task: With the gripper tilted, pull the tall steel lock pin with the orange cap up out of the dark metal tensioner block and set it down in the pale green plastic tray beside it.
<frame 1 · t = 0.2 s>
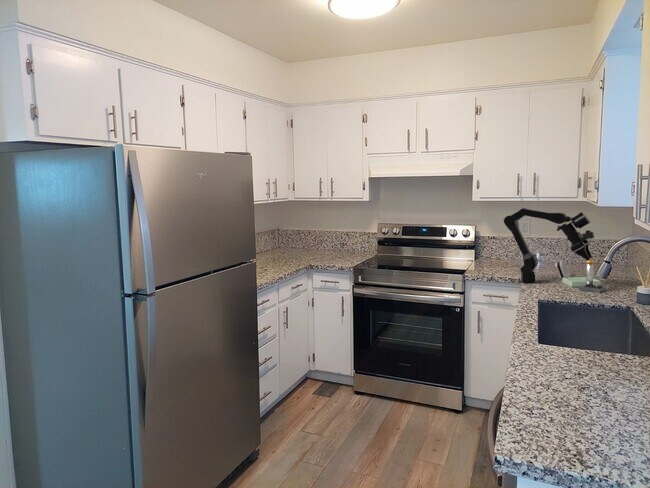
hand: (590, 258, 236), 15 cm above the worktop, tool tilted 35°, fingers open, 9 cm apart
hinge: (562, 276, 270), on the worktop
parts tray: (580, 284, 243), on the worktop
tensioner block: (589, 290, 229), on the worktop
lock pin: (589, 290, 229), resting in tensioner block
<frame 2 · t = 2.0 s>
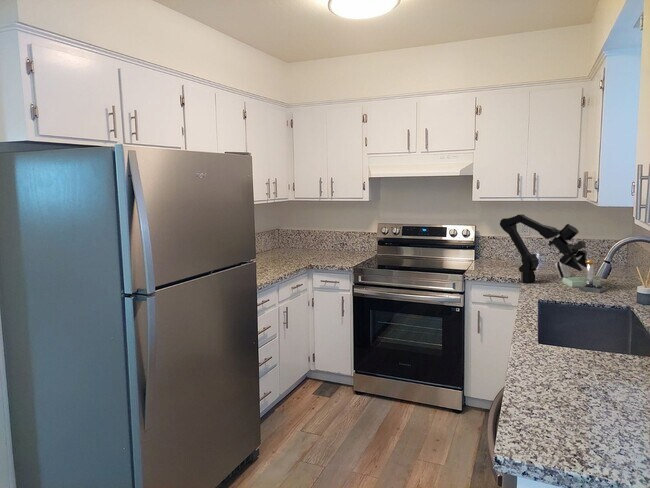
hand: (585, 269, 230), 10 cm above the worktop, tool tilted 45°, fingers open, 9 cm apart
nothing on the worktop moved.
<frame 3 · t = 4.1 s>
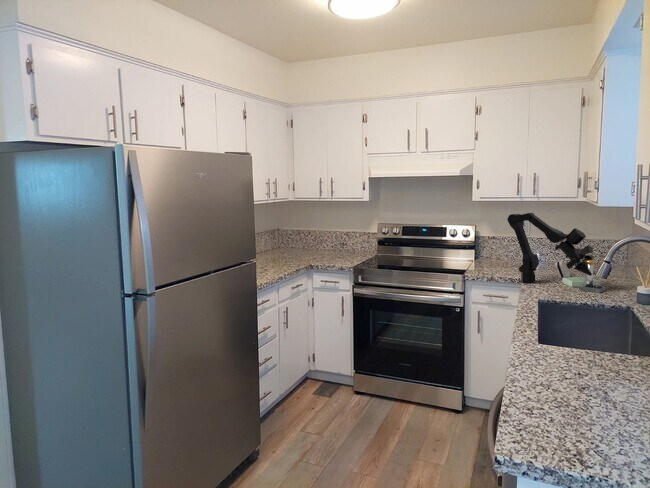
hand: (592, 274, 227), 8 cm above the worktop, tool tilted 45°, fingers closed on lock pin, 3 cm apart
lock pin: (589, 290, 229), resting in tensioner block, touching gripper
everything else where it was.
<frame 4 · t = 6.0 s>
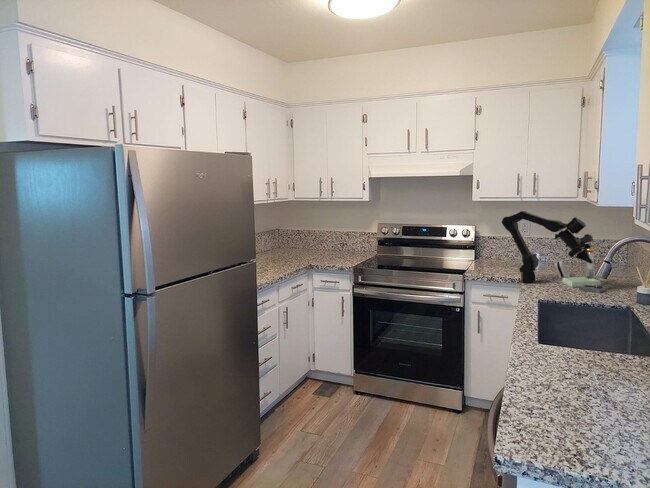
hand: (593, 262, 231), 13 cm above the worktop, tool tilted 45°, fingers closed on lock pin, 3 cm apart
lock pin: (589, 278, 233), point 5 cm above the worktop, touching gripper
everything else where it was.
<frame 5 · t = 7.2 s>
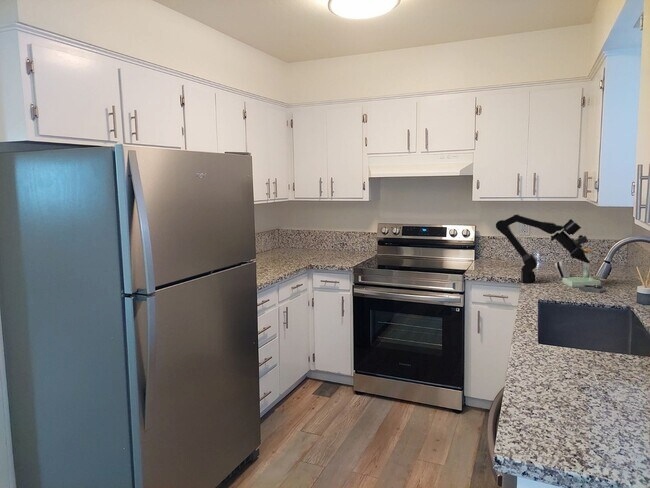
hand: (589, 262, 240), 12 cm above the worktop, tool tilted 45°, fingers closed on lock pin, 3 cm apart
lock pin: (585, 277, 241), point 4 cm above the worktop, touching gripper
everything else where it was.
when the fingers open (10 cm above the worktop, at t = 8.2 s): lock pin drops 1 cm, resting on parts tray.
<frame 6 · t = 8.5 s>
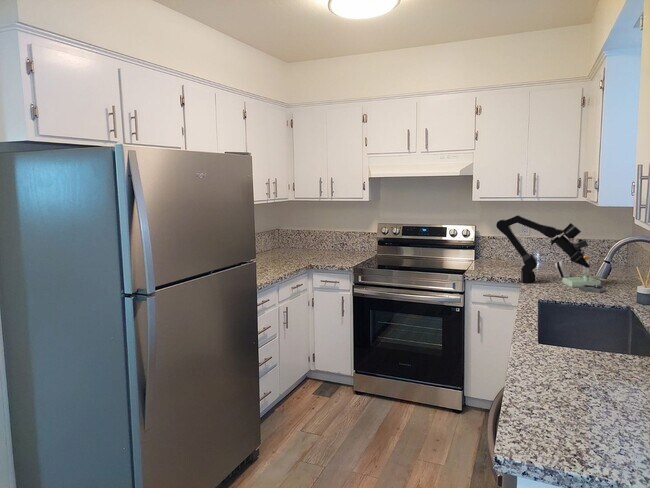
hand: (589, 266, 240), 10 cm above the worktop, tool tilted 45°, fingers open, 6 cm apart
lock pin: (585, 284, 242), point 1 cm above the worktop, touching parts tray
everything else where it was.
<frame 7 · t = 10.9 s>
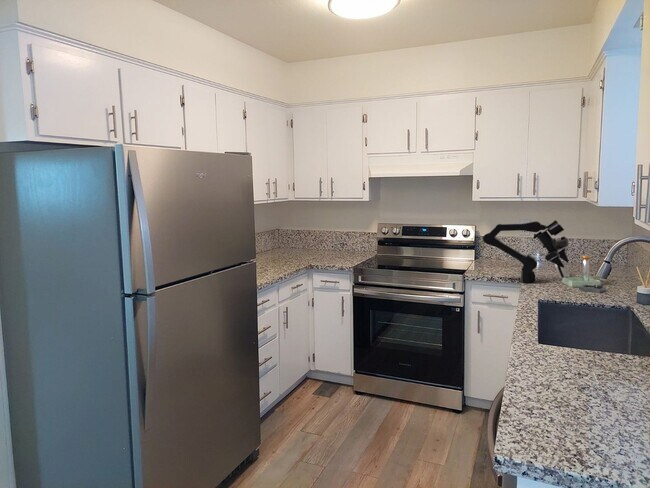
hand: (565, 264, 246), 11 cm above the worktop, tool tilted 35°, fingers open, 9 cm apart
nothing on the worktop moved.
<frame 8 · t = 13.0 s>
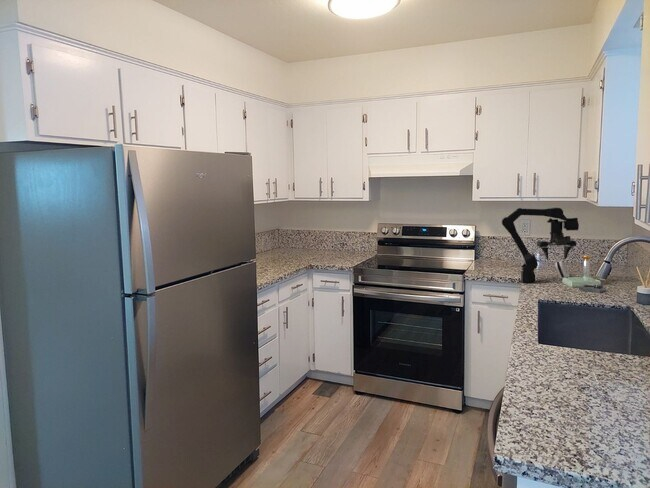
hand: (556, 259, 250), 13 cm above the worktop, tool pointing down, fingers open, 9 cm apart
at the end: lock pin inside the target area on the parts tray (2.2 cm from its centre), point 0.7 cm above the parts tray's base; the gripper is holding nothing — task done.
